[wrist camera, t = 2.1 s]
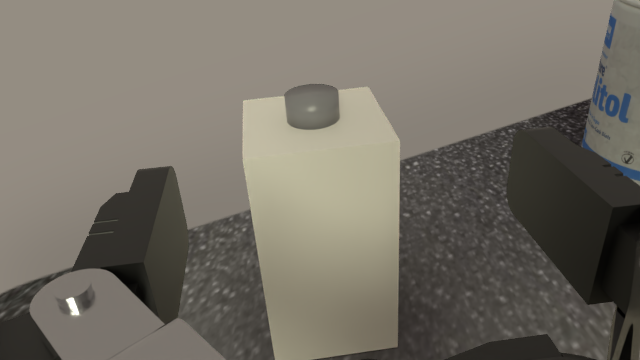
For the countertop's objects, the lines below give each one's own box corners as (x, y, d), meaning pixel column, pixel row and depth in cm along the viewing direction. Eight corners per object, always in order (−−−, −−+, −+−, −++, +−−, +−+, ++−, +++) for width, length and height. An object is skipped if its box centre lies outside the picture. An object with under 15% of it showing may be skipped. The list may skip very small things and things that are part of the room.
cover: (372, 268, 33) (367, 64, 26) (397, 347, 27) (400, 113, 21) (270, 282, 32) (239, 77, 26) (275, 364, 27) (238, 132, 20)
